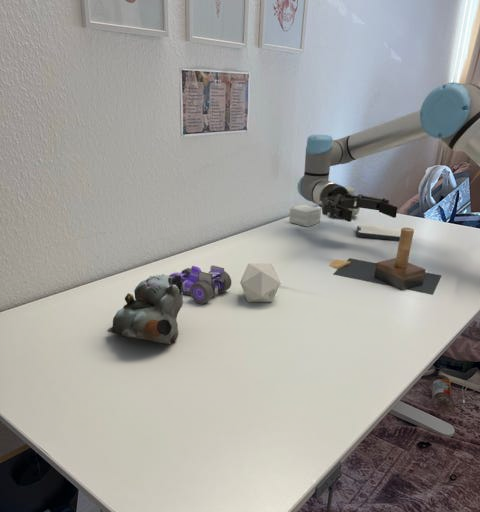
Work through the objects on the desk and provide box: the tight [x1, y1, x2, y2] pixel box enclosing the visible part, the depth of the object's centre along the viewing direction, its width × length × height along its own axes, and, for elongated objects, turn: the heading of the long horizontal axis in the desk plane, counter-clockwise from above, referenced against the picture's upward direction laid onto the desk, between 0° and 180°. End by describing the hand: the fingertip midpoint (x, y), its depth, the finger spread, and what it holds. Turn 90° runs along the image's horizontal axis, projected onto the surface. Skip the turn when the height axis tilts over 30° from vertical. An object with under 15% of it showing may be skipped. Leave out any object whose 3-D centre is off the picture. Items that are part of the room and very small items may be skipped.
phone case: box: [356, 225, 401, 242], centre depth 153 cm, size 9×2×16 cm
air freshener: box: [334, 186, 361, 219], centre depth 171 cm, size 11×8×10 cm
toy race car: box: [168, 265, 232, 305], centre depth 109 cm, size 10×15×6 cm, turn 57°
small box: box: [288, 204, 322, 228], centre depth 164 cm, size 8×8×5 cm
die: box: [239, 263, 282, 303], centre depth 106 cm, size 8×9×10 cm
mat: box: [332, 257, 442, 296], centre depth 120 cm, size 24×14×1 cm, turn 61°
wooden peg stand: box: [374, 227, 426, 291], centre depth 113 cm, size 9×7×13 cm
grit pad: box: [328, 259, 350, 270], centre depth 126 cm, size 5×5×1 cm
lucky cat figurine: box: [106, 274, 184, 345], centre depth 90 cm, size 15×12×14 cm
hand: (373, 214), depth 122 cm, fingers open, 13 cm apart
